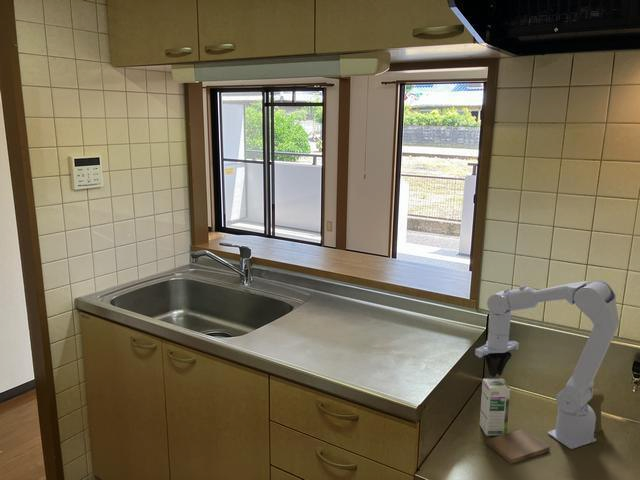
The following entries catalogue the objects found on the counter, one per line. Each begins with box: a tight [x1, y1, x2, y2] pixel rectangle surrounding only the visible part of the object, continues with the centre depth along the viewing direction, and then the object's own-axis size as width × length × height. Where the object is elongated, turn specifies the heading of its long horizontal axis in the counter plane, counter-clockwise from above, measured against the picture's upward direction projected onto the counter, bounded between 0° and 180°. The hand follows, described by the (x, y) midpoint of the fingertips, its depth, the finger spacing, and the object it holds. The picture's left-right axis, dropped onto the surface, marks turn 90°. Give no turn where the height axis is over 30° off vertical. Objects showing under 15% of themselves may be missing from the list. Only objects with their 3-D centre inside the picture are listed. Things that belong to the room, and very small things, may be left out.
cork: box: [587, 387, 605, 433], centre depth 146 cm, size 6×6×11 cm
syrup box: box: [479, 377, 511, 437], centre depth 143 cm, size 6×6×14 cm
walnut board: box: [485, 428, 551, 465], centre depth 137 cm, size 13×9×1 cm
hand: (495, 374), depth 155 cm, fingers closed
